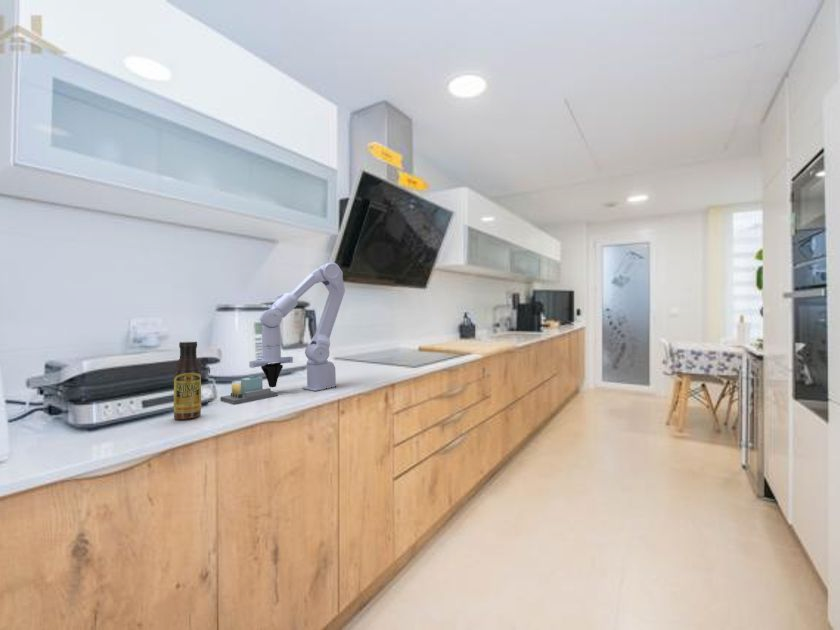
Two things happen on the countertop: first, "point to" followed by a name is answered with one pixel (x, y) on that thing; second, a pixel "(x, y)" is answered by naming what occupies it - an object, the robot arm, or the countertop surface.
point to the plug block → (251, 384)
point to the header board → (247, 395)
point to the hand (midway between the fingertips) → (272, 386)
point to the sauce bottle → (187, 383)
